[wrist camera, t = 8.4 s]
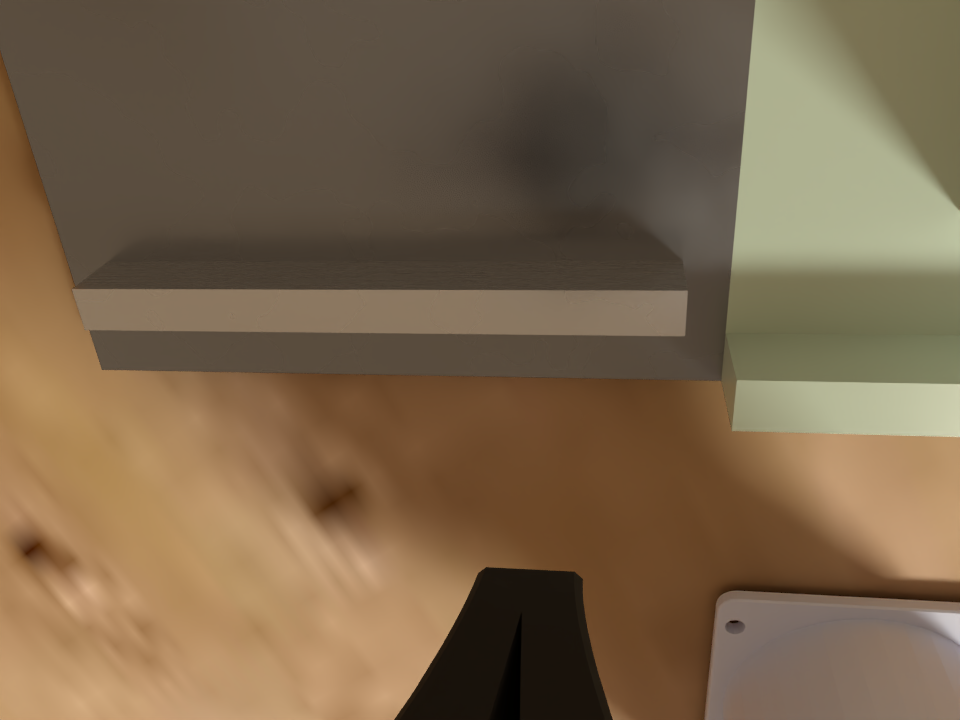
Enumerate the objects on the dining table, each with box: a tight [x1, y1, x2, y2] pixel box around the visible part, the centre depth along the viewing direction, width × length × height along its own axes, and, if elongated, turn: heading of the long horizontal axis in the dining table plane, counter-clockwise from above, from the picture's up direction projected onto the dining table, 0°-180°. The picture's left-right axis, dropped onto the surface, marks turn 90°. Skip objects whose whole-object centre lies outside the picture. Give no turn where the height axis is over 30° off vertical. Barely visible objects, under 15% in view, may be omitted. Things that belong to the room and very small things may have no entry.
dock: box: [0, 0, 755, 381], centre depth 17 cm, size 12×15×2 cm
